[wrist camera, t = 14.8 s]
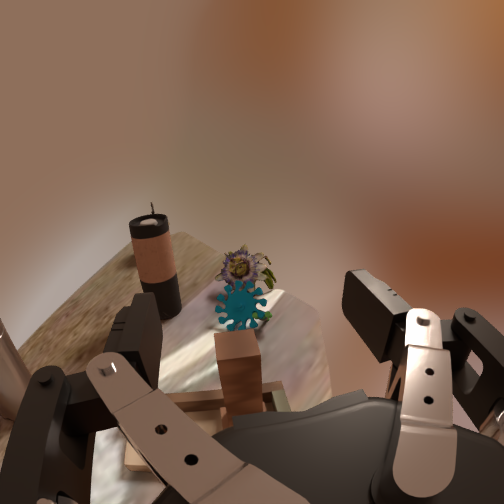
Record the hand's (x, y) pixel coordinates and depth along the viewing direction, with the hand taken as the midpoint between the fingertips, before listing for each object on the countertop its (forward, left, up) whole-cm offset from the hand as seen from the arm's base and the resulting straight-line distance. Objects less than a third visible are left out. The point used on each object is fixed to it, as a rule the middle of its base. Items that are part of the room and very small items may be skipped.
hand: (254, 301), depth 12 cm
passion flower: (+25, +42, -28) cm, 57 cm away
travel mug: (+6, +44, -28) cm, 53 cm away
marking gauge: (+4, +10, -26) cm, 28 cm away
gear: (+17, +31, -28) cm, 45 cm away
